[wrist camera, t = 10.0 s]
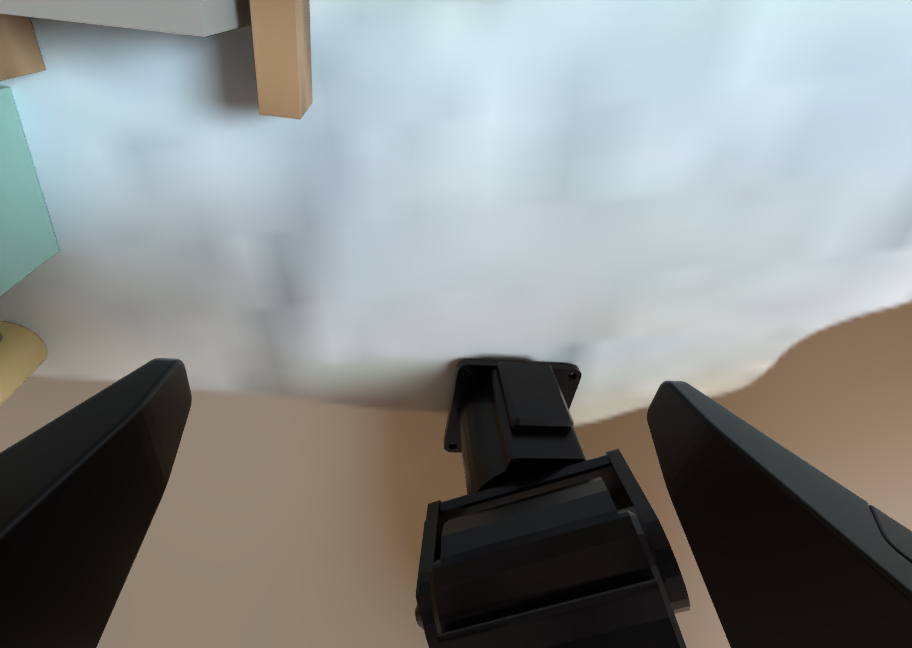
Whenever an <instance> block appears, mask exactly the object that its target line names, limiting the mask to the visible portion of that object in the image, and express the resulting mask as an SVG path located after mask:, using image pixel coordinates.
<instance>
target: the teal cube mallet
mask: <svg viewBox="0 0 912 648" xmlns="http://www.w3.org/2000/svg"><path fill="white" fill-rule="evenodd" d="M58 251H59V247H58V244H57V240H56V237H55V234H54V230H53V227H52V224H51V220H50V217H49V214H48V210H47V207H46V204H45V200H44V197H43V194H42V190H41V187H40V184H39V180H38V177H37V174H36V170H35V167H34V164H33V161H32V157H31V154H30V151H29V147H28V144H27V141H26V137H25V134H24V131H23V127H22V124H21V121H20V117H19V114H18V111H17V107H16V104H15V101H14V97H13V94H12V91H11V87H8V86H1V85H0V296H1V295H3V294H4V293H5V292H6V291H8V290H9V289H10V288H12V287H13V286H14V285H15V284H17V283H18V282H19V281H21V280H22V279H23V278H25V277H26V276H27V275H28V274H30V273H31V272H32V271H34V270H35V269H36V268H37V267H39V266H40V265H41V264H43V263H44V262H45V261H46V260H48V259H49V258H50V257H52V256H53V255H54V254H56V253H57V252H58ZM46 357H47V348H46V346H45V344H44V342H43V341H42V340H41V338H40V337H39V336H37V335H36V334H35V333H34V332H32V331H31V330H29V329H27V328H25V327H23V326H20V325H17V324H14V323H9V322H0V406H1V405H2V404H3V403H4V402H5V401H6V400H7V399H8V398H9V397H10V396H11V395H12V394H13V393H14V392H15V390H17V388H18V387H19V386H20V385H21V384H22V383H23V382H24V381H25V380H26V379H27V378H28V377H29V376H30V375H31V374H32V373H33V372H34V371H35V370H36V369H37V367H38V366H39V365H40V364H41V363H42V362H43V361H44V360H45V359H46Z"/></svg>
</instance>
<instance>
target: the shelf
mask: <svg viewBox="0 0 912 648" xmlns="http://www.w3.org/2000/svg"><path fill="white" fill-rule="evenodd" d="M250 12H251V23H252V35H253V46H254V57H255V69H256V80H257V92H258V103H259V114H260V115H268V116H277V117H285V118H293V119H301V117H302V116H303V115H304V113H305V112H306V111H307V109H308V108H309V107H310V105H311V104H312V80H311V46H310V12H309V0H250ZM43 70H46V69H45V66H44V62H43V59H42V56H41V53H40V49H39V46H38V43H37V40H36V36H35V33H34V30H33V27H32V23H31V20H30V17H26V16H17V15H9V14H0V81H2V80H6V79H10V78H14V77H18V76H22V75H26V74H31V73H35V72H39V71H43Z"/></svg>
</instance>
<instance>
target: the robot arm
mask: <svg viewBox="0 0 912 648" xmlns="http://www.w3.org/2000/svg"><path fill="white" fill-rule="evenodd" d="M467 368H469V369H470V370H469V371H464V369H467ZM571 373H573V374H572V375H569V374H571ZM580 379H581V372H580V370H579V368H578V367H577V366H576V365H573V364H553V363H532V362H512V361H491V360H470V359H467V360H463V361H461V362H459V363H458V365H457V369H456V374H455V380H454V385H453V391H452V397H451V402H450V408H449V413H448V419H447V425H446V430H445V436H444V449H445V450H446V451H448V452H462V457H463V465H464V473H465V480H466V488H467V495H464V496H461V497H457V498H454V499H450V500H447V501H443V502H441V501H436V502H432V503H429V504H428V508H427V516H426V521H425V523H424V532H423V540H422V549H421V556H420V564H419V572H418V580H417V589H416V599H417V606H416V609H415V616H416V621H417V624H418V625H419V626H420V627H421V628H422V629H423V630H424V631H425V635H426V639H427V642H428V645H429V648H686V645H685V642H684V640H683V637H682V634H681V631H680V628H679V626H678V623H677V620H676V617H675V615H674V614H675V613H679V612H684V611H688V610H690V602H689V598H688V594H687V591H686V587H685V584H684V581H683V578H682V575H681V572H680V569H679V567H678V564H677V561H676V559H675V557H674V554H673V551H672V549H671V546H670V544H669V542H668V539H667V537H666V535H665V533H664V530H663V528H662V526H661V524H660V522H659V520H658V518H657V516H656V514H655V513H654V511H653V509H652V507H651V505H650V504H649V502H648V500H647V498H646V496H645V495H644V493H643V491H642V489H641V488H640V486H639V484H638V483H637V481H636V479H635V477H634V476H633V474H632V472H631V470H630V468H629V467H628V465H627V463H626V461H625V460H624V458H623V456H622V454H621V453H620V451H619V449H616V450H612V451H609V452H606V455H603V456H599V457H596V458H593V459H589V460H587V459H586V457H585V454H584V451H583V449H582V446H581V443H580V441H579V438H578V436H577V433H576V431H575V428H574V426H573V420H572V417H571V415H570V412H569V408H570V406H571V403H572V400H573V397H574V395H575V392H576V389H577V387H578V384H579V381H580ZM191 398H192V397H191V390H190V386H189V382H188V378H187V373H186V369H185V366H184V363H183V362H182V361H181V360H179V359H167V358H156V359H153V360H151V361H149V362H148V363H146V364H145V365H143V366H141V367H140V368H138V369H136V370H135V371H133V372H131V373H130V374H128V375H127V376H125V377H123V378H122V379H120V380H118V381H117V382H115V383H113V384H112V385H110V386H109V387H107V388H105V389H104V390H102V391H100V392H99V393H97V394H96V395H94V396H92V397H91V398H89V399H88V400H86V401H84V402H82V403H81V404H79V405H78V406H76V407H74V408H73V409H71V410H69V411H68V412H66V413H65V414H63V415H61V416H60V417H58V418H56V419H55V420H53V421H51V422H50V423H48V424H47V425H45V426H43V427H42V428H40V429H38V430H37V431H35V432H33V433H32V434H30V435H29V436H27V437H25V438H24V439H22V440H21V441H19V442H17V443H15V444H14V445H12V446H11V447H9V448H7V449H6V450H4V451H2V452H1V453H0V648H96V647H97V645H98V643H99V640H100V638H101V636H102V633H103V631H104V629H105V627H106V624H107V622H108V620H109V617H110V615H111V613H112V610H113V608H114V606H115V604H116V601H117V599H118V597H119V595H120V592H121V590H122V588H123V585H124V583H125V581H126V578H127V576H128V574H129V572H130V569H131V567H132V565H133V562H134V560H135V558H136V556H137V553H138V551H139V549H140V546H141V544H142V542H143V540H144V537H145V535H146V533H147V530H148V528H149V526H150V524H151V521H152V519H153V516H154V514H155V512H156V510H157V507H158V505H159V503H160V501H161V498H162V496H163V493H164V491H165V488H166V486H167V482H168V480H169V477H170V474H171V470H172V466H173V464H174V460H175V457H176V454H177V450H178V447H179V444H180V441H181V437H182V434H183V431H184V427H185V424H186V420H187V417H188V414H189V411H190V407H191ZM647 421H648V425H649V428H650V432H651V435H652V439H653V442H654V446H655V449H656V452H657V456H658V460H659V463H660V467H661V470H662V473H663V477H664V480H665V483H666V486H667V489H668V492H669V495H670V497H671V500H672V503H673V505H674V508H675V510H676V512H677V515H678V518H679V520H680V522H681V525H682V528H683V530H684V532H685V535H686V537H687V540H688V542H689V545H690V547H691V550H692V552H693V555H694V557H695V560H696V562H697V565H698V567H699V570H700V572H701V575H702V577H703V580H704V582H705V584H706V587H707V590H708V592H709V594H710V597H711V599H712V602H713V604H714V607H715V609H716V612H717V614H718V617H719V619H720V622H721V624H722V627H723V629H724V631H725V634H726V637H727V639H728V642H729V644H730V647H731V648H912V531H910V530H909V529H907V528H906V527H904V526H903V525H901V524H899V523H898V522H897V521H895V520H893V519H892V518H890V517H889V516H887V515H886V514H884V513H883V512H881V511H880V510H878V509H877V508H875V507H874V506H872V505H868V503H867V502H866V501H865V500H863V499H862V498H860V497H859V496H857V495H856V494H854V493H852V492H851V491H850V490H848V489H846V488H845V487H843V486H842V485H840V484H839V483H837V482H836V481H834V480H833V479H831V478H830V477H828V476H827V475H825V474H824V473H822V472H821V471H819V470H818V469H816V468H815V467H813V466H812V465H810V464H808V463H807V462H806V461H804V460H802V459H801V458H800V457H798V456H797V455H795V454H793V453H792V452H790V451H789V450H787V449H786V448H784V447H783V446H781V445H780V444H778V443H777V442H775V441H774V440H772V439H771V438H769V437H768V436H766V435H765V434H763V433H762V432H760V431H758V430H757V429H756V428H754V427H753V426H751V425H750V424H748V423H747V422H745V421H744V420H742V419H741V418H739V417H737V416H736V415H735V414H733V413H732V412H730V411H729V410H727V409H725V408H724V407H722V406H721V405H719V404H718V403H716V402H715V401H713V400H712V399H710V398H709V397H707V396H706V395H704V394H703V393H701V392H700V391H698V390H697V389H695V388H694V387H692V386H691V385H689V384H688V383H686V382H683V381H664V382H663V383H662V384H661V385H660V387H659V389H658V391H657V393H656V395H655V396H654V398H653V400H652V402H651V404H650V406H649V409H648V412H647ZM452 443H454V444H452Z"/></svg>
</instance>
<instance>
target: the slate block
mask: <svg viewBox="0 0 912 648" xmlns="http://www.w3.org/2000/svg"><path fill="white" fill-rule="evenodd" d="M0 14H9V15H17V16H26V17H35V18H44V19H52V20H61V21H70V22H79V23H87V24H96V25H105V26H113V27H122V28H131V29H140V30H148V31H157V32H166V33H175V34H183V35H192V36H201V37H206V36H210V35H214V34H217V33H221V32H225V31H229V30H232V29H236V28H240V27H243V26H247V25H251V24H252V23H251V12H250V0H0Z"/></svg>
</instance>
